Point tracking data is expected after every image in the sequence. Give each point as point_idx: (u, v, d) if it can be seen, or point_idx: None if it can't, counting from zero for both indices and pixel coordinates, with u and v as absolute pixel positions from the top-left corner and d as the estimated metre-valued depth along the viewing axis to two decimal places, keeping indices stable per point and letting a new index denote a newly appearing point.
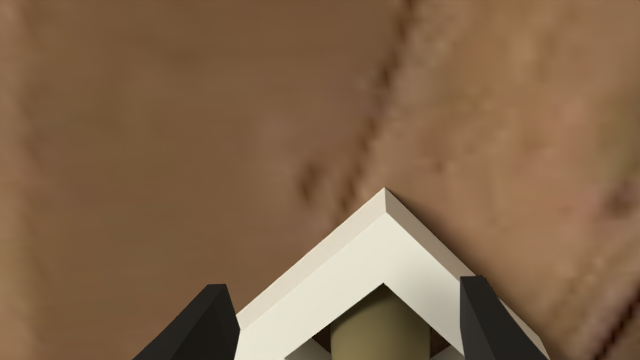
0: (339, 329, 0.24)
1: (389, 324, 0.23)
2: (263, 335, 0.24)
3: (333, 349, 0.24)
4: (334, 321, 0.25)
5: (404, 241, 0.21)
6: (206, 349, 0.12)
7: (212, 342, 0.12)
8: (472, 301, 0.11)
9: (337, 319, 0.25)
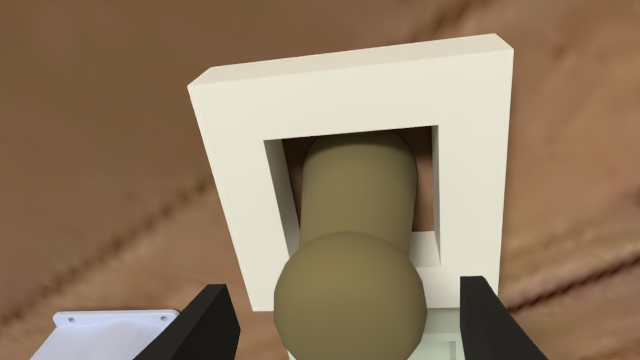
0: (339, 148, 0.20)
1: (401, 172, 0.19)
2: (261, 100, 0.18)
3: (322, 163, 0.20)
4: (330, 140, 0.21)
5: (499, 95, 0.17)
6: (206, 349, 0.12)
7: (212, 342, 0.12)
8: (472, 301, 0.11)
9: (337, 139, 0.21)
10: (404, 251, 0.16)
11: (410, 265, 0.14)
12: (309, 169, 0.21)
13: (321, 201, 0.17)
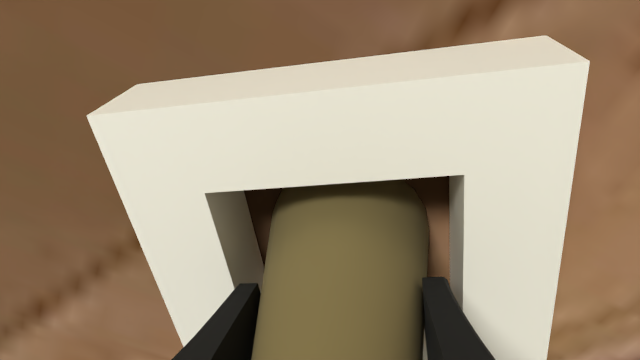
0: (317, 202, 0.14)
1: (407, 239, 0.13)
2: (197, 136, 0.12)
3: (293, 226, 0.14)
4: (306, 186, 0.15)
5: (560, 132, 0.11)
6: (242, 348, 0.12)
7: (247, 342, 0.12)
8: (429, 302, 0.11)
9: (316, 186, 0.15)
10: None
11: None
12: (275, 230, 0.14)
13: (285, 297, 0.11)
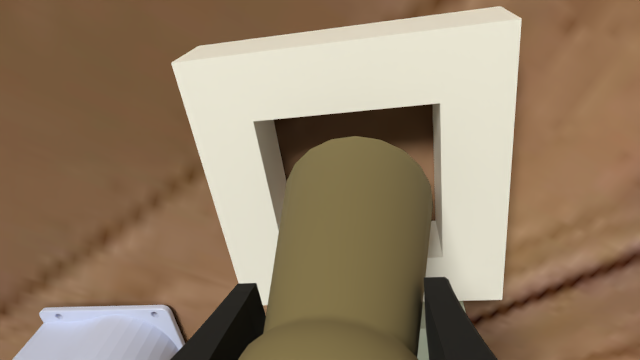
0: (330, 173, 0.15)
1: (412, 210, 0.14)
2: (250, 77, 0.17)
3: (307, 194, 0.15)
4: (320, 159, 0.16)
5: (505, 70, 0.16)
6: (240, 349, 0.12)
7: (245, 342, 0.12)
8: (431, 302, 0.11)
9: (329, 159, 0.16)
10: (413, 339, 0.11)
11: None
12: (290, 198, 0.16)
13: (300, 255, 0.12)
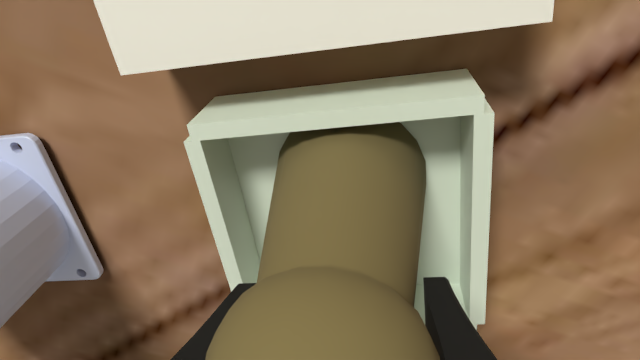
0: (329, 137, 0.15)
1: (410, 179, 0.14)
2: None
3: (304, 157, 0.14)
4: None
5: None
6: None
7: None
8: (431, 302, 0.11)
9: None
10: (411, 298, 0.11)
11: (425, 332, 0.09)
12: (285, 162, 0.15)
13: (296, 212, 0.12)
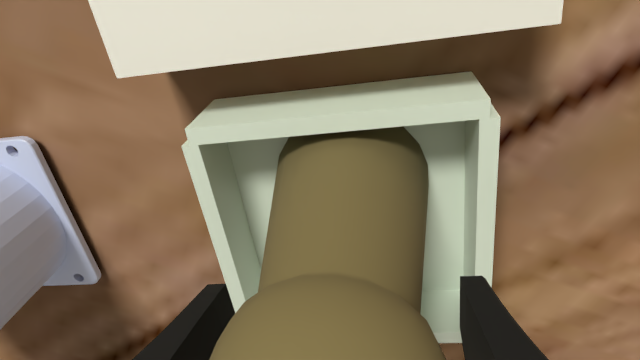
0: (330, 141, 0.14)
1: (413, 183, 0.14)
2: None
3: (305, 160, 0.14)
4: None
5: None
6: (206, 349, 0.12)
7: (212, 342, 0.12)
8: (472, 301, 0.11)
9: None
10: (417, 306, 0.11)
11: (435, 342, 0.09)
12: (285, 166, 0.15)
13: (299, 217, 0.12)
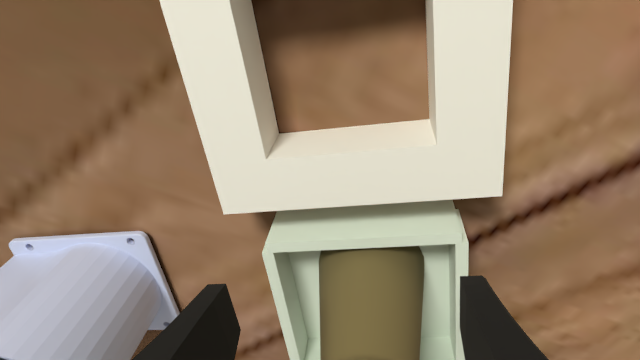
0: (360, 251, 0.22)
1: (414, 280, 0.22)
2: None
3: (344, 266, 0.22)
4: None
5: None
6: (206, 349, 0.12)
7: (212, 342, 0.12)
8: (472, 301, 0.11)
9: None
10: None
11: None
12: (330, 265, 0.23)
13: (346, 312, 0.19)
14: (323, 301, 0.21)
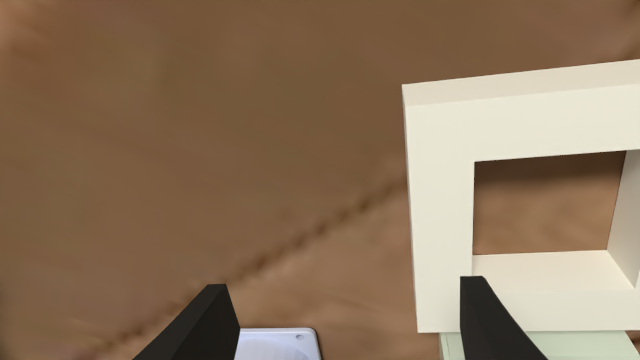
0: None
1: None
2: (483, 120, 0.18)
3: None
4: None
5: None
6: (206, 349, 0.12)
7: (212, 342, 0.12)
8: (472, 301, 0.11)
9: None
10: None
11: None
12: None
13: None
14: None
